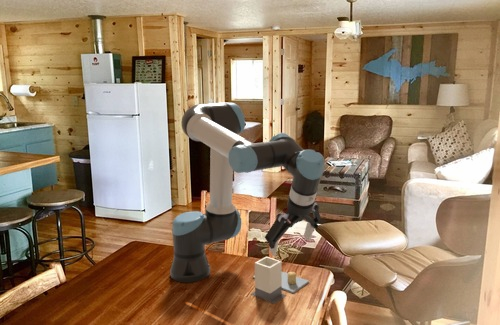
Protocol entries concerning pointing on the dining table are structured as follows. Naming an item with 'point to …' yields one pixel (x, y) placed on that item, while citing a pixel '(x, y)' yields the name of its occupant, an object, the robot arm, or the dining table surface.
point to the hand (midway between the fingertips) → (289, 245)
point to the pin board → (291, 287)
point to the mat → (274, 299)
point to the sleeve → (268, 278)
